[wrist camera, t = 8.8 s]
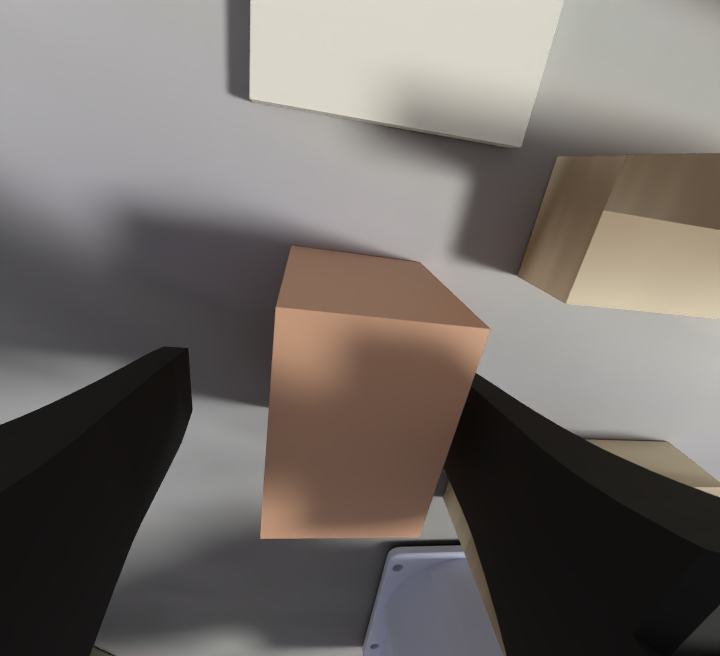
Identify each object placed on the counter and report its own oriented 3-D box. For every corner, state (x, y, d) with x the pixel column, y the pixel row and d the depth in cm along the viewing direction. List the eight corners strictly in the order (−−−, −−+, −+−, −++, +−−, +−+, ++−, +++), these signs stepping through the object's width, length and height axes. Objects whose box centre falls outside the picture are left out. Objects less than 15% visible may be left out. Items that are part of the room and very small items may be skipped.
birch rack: (632, 497, 18) (773, 646, 12) (443, 497, 16) (509, 670, 11) (822, 203, 12) (1248, 238, 6) (557, 156, 10) (830, 151, 5)
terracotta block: (384, 413, 14) (419, 537, 9) (278, 407, 13) (260, 539, 8) (419, 261, 11) (490, 329, 7) (291, 244, 10) (276, 306, 6)
